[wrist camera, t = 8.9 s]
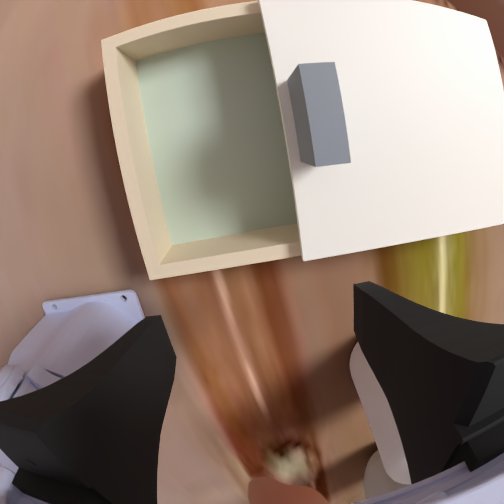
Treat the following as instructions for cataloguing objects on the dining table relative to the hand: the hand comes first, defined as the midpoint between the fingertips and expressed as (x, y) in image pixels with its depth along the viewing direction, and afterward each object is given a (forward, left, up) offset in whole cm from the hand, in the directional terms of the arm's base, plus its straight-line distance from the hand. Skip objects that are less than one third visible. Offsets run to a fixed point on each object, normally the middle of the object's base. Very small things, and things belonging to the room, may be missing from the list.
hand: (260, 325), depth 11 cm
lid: (+10, +7, -6) cm, 13 cm away
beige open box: (+2, +7, -10) cm, 12 cm away
